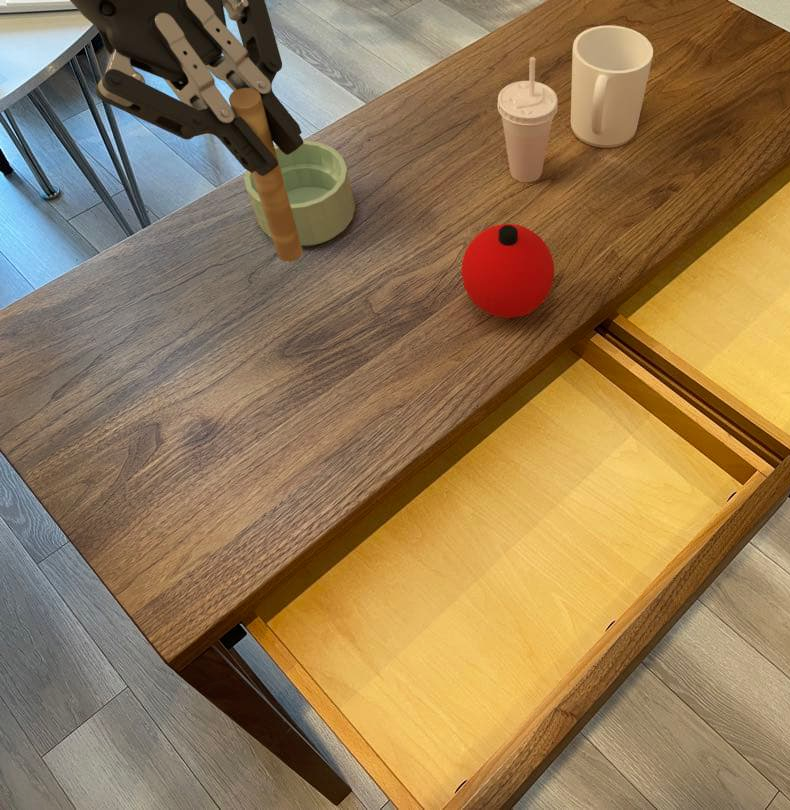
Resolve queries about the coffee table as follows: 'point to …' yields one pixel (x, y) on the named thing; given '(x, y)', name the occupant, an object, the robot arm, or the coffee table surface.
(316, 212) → the bowl
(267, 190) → the stick
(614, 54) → the mug
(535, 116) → the smoothie
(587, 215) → the coffee table surface
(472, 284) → the ornament
